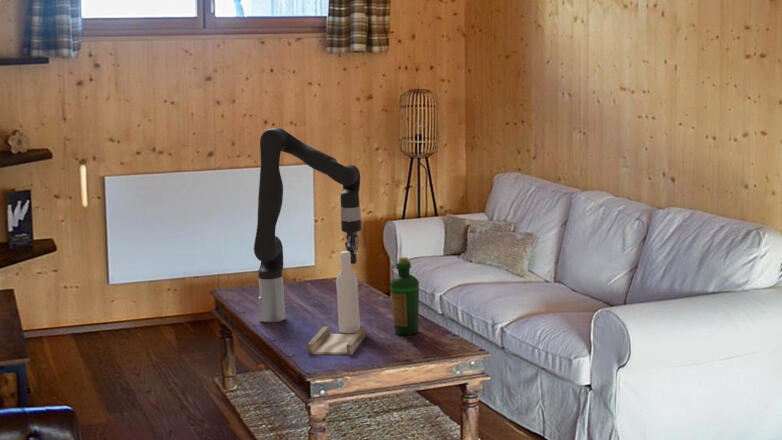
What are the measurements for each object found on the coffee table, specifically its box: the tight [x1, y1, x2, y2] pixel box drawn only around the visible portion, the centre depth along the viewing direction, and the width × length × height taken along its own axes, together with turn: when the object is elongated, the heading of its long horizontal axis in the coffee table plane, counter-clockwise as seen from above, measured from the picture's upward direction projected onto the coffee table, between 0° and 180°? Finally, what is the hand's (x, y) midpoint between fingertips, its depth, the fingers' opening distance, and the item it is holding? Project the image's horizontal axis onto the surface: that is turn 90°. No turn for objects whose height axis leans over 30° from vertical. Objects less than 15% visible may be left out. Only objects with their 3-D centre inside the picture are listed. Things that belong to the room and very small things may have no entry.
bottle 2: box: [389, 256, 420, 336], centre depth 395 cm, size 11×11×28 cm
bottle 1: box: [335, 250, 361, 334], centre depth 401 cm, size 8×8×30 cm
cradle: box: [307, 325, 368, 356], centre depth 386 cm, size 16×22×4 cm
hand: (353, 263), depth 411 cm, fingers closed
